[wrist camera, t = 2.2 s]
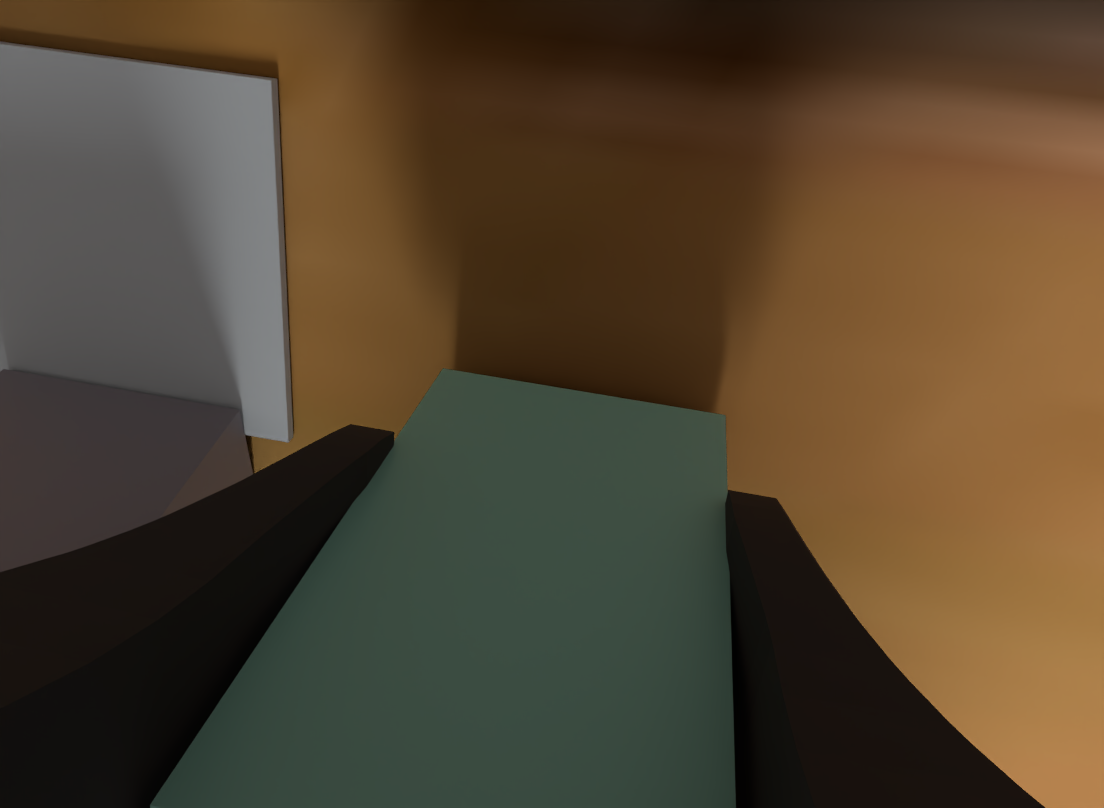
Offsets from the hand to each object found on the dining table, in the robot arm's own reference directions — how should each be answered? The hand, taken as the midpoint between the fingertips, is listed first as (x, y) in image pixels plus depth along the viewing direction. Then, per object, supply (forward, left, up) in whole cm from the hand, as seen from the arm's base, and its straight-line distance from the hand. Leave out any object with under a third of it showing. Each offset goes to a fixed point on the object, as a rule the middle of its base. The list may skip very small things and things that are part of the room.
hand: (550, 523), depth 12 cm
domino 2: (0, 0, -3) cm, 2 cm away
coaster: (+2, +8, -3) cm, 9 cm away
